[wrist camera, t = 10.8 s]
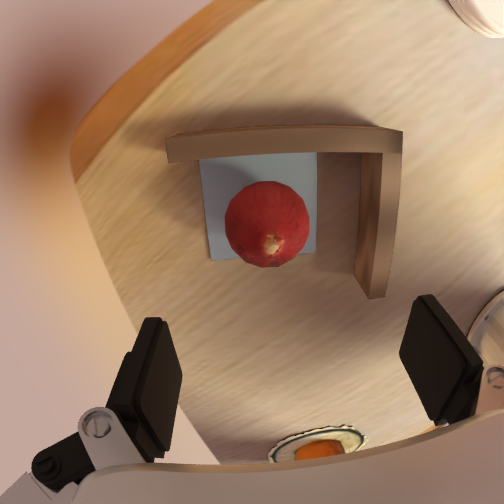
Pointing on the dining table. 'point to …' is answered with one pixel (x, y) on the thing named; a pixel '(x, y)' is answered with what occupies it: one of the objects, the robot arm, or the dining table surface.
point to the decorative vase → (317, 444)
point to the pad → (246, 173)
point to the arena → (325, 140)
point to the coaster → (482, 15)
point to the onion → (267, 223)
